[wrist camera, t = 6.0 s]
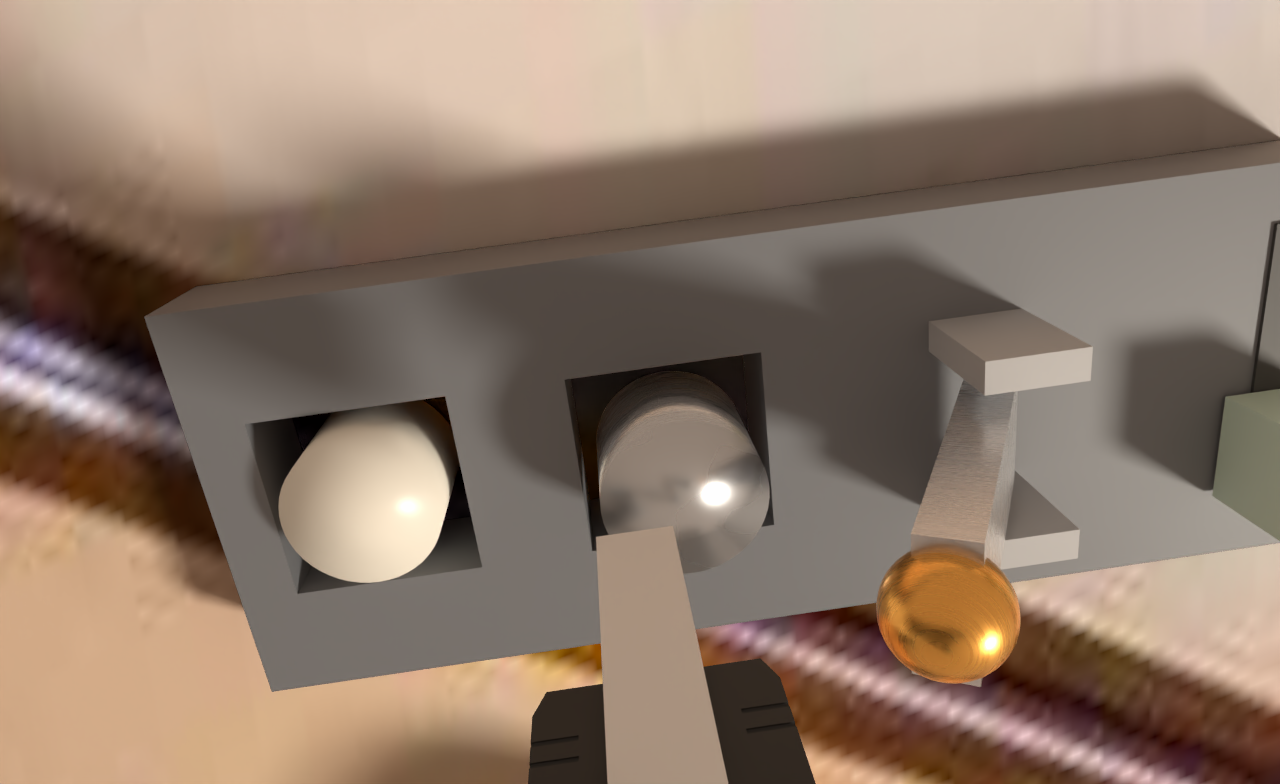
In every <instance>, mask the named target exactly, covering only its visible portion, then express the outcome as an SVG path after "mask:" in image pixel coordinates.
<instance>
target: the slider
mask: <svg viewBox="0 0 1280 784" xmlns="http://www.w3.org/2000/svg"><path fill="white" fill-rule="evenodd" d="M1212 496H1213V497H1215V498H1216V499H1218V500H1219V501H1221V502H1222V503H1223V504H1225V505H1226V506H1228V507H1229V508H1231V509H1232V510H1234V511H1235V512H1237V513H1238V514H1240V515H1241V516H1243V517H1244V518H1246V519H1247V520H1249V521H1250V522H1252V523H1253V524H1255V525H1256V526H1258V527H1259V528H1261V529H1262V530H1264V531H1265V532H1267V533H1268V534H1270V535H1271V536H1273V537H1274V538H1276V539H1277V540H1279V541H1280V389H1275V390H1268V391H1261V392H1254V393H1247V394H1240V395H1233V396H1226V397H1225V404H1224V411H1223V419H1222V427H1221V434H1220V442H1219V449H1218V457H1217V464H1216V472H1215V479H1214V487H1213V494H1212Z"/></svg>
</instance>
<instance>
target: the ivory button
mask: <svg viewBox="0 0 1280 784" xmlns="http://www.w3.org/2000/svg"><path fill="white" fill-rule="evenodd" d="M458 466H459V458H458V453H457V449H456V444H455V440H454V435H453V431H452V429H451V427H450V426H449V424H448V422H447V421H446V420H445V419H444V417H443V416H442V415H441V414H440V413H439V412H438V411H437V410H436V409H434V408H433V407H432V406H430V405H429V404H428V403H426V402H424V401H422V400H415V401H408V402H401V403H394V404H387V405H380V406H372V407H365V408H358V409H351V410H344V411H337V412H332V413H331V414H330V415H329V416H328V417H327V419H326V420H325V422H324V423H323V425H322V426H321V427H320V429H319V430H318V432H317V433H316V435H315V436H314V438H313V439H312V440H311V442H310V443H309V445H308V446H307V448H306V449H305V450H304V452H303V453H302V455H301V456H300V458H299V459H298V460H297V462H296V463H295V465H294V466H293V468H292V469H291V471H290V472H289V474H288V475H287V477H286V479H285V481H284V483H283V485H282V488H281V492H280V496H279V506H278V508H279V518H280V522H281V526H282V529H283V531H284V534H285V536H286V538H287V539H288V541H289V543H290V544H291V546H292V547H293V548H294V550H295V551H296V552H297V553H298V554H299V555H300V556H301V557H302V558H303V559H304V560H305V561H306V562H308V563H309V564H310V565H311V566H313V567H315V568H316V569H318V570H319V571H321V572H323V573H325V574H327V575H330V576H332V577H335V578H338V579H342V580H346V581H351V582H360V583H372V582H381V581H386V580H390V579H393V578H396V577H399V576H401V575H404V574H406V573H408V572H409V571H411V570H413V569H414V568H416V567H417V566H418V565H419V564H421V563H422V562H423V561H424V560H425V559H426V558H427V556H428V555H429V554H430V553H431V551H432V550H433V548H434V547H435V545H436V543H437V540H438V538H439V535H440V532H441V528H442V525H443V521H444V518H445V514H446V511H447V507H448V503H449V500H450V496H451V493H452V489H453V486H454V482H455V479H456V475H457V472H458Z"/></svg>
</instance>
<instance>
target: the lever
mask: <svg viewBox="0 0 1280 784" xmlns="http://www.w3.org/2000/svg"><path fill="white" fill-rule="evenodd" d="M1017 399H1018V391H1015V392H1008V393H1001V394H994V395H986V396H984V395H983V394H982V393H980V392H979V391H978V390H977V389H975V388H974V387H973V386H972V385H970V384H969V383H968V382H967V381H965V380H964V379H963V382H962V385H961V388H960V391H959V394H958V397H957V400H956V403H955V406H954V409H953V412H952V414H951V417H950V420H949V423H948V426H947V429H946V432H945V435H944V438H943V441H942V444H941V447H940V450H939V453H938V456H937V459H936V461H935V464H934V467H933V470H932V473H931V476H930V479H929V482H928V485H927V488H926V491H925V494H924V497H923V500H922V503H921V506H920V508H919V511H918V514H917V517H916V520H915V523H914V526H913V529H912V532H911V551H909V552H908V553H906V554H904V555H903V556H901V557H900V558H899V559H898V560H897V561H895V563H894V564H893V565H892V566H891V567H890V568H889V569H888V571H887V573H886V574H885V576H884V578H883V580H882V582H881V584H880V587H879V591H878V595H877V604H876V612H877V620H878V624H879V628H880V631H881V634H882V636H883V638H884V640H885V642H886V644H887V646H888V647H889V649H890V650H891V651H892V653H893V654H894V655H895V656H896V657H897V658H898V660H899V661H900V662H901V663H903V664H904V665H905V666H906V667H908V668H909V669H910V670H912V674H917V675H921V676H923V677H925V678H928V679H931V680H934V681H938V682H944V683H963V684H968V685H973V686H979V687H981V683H982V677H985V676H987V675H988V674H990V673H991V672H993V671H995V670H996V669H997V668H998V667H1000V666H1001V665H1002V664H1003V663H1004V661H1005V660H1006V659H1007V658H1008V657H1009V655H1010V654H1011V652H1012V650H1013V648H1014V646H1015V644H1016V641H1017V638H1018V635H1019V630H1020V608H1019V603H1018V599H1017V596H1016V593H1015V591H1014V589H1013V587H1012V585H1011V583H1010V581H1009V580H1008V578H1007V577H1006V575H1005V574H1004V573H1003V572H1002V570H1001V569H1000V567H1001V561H1002V554H1003V548H1004V542H1005V536H1006V530H1007V524H1008V518H1009V511H1010V505H1011V499H1012V493H1013V487H1014V475H1015V449H1016V424H1017Z"/></svg>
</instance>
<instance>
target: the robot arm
mask: <svg viewBox="0 0 1280 784" xmlns="http://www.w3.org/2000/svg"><path fill="white" fill-rule="evenodd" d="M596 547H597V569H598V590H599V611H600V633H601V654H602V675H603V684H599V685H592V686H585V687H579V688H572V689H565V690H559V691H552V692H546V694H545V696H544V698H543V699H542V701H541V703H540V705H539V706H538V708H537V710H536V711H535V713H534V715H533V717H532V732H531V748H530V769H529V779H528V784H816V783H815V780H814V777H813V774H812V772H811V769H810V766H809V763H808V760H807V757H806V754H805V751H804V748H803V745H802V742H801V739H800V736H799V733H798V730H797V727H796V726H795V721H794V718H793V715H792V712H791V709H790V706H789V705H788V700H787V697H786V694H785V691H784V688H783V685H782V682H781V679H780V677H779V676H778V675H777V674H776V673H775V672H774V671H773V670H772V669H771V668H770V667H768V666H767V665H766V664H765V663H764V662H763V661H762V660H761V659H754V660H747V661H740V662H733V663H727V664H720V665H713V666H706V667H703V663H702V659H701V654H700V649H699V645H698V640H697V635H696V631H695V626H694V621H693V617H692V612H691V607H690V603H689V598H688V594H687V589H686V584H685V580H684V575H683V570H682V566H681V561H680V556H679V552H678V547H677V542H676V538H675V533H674V529H673V526H668V527H661V528H654V529H647V530H640V531H633V532H627V533H620V534H613V535H606V536H599V537H596Z"/></svg>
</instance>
